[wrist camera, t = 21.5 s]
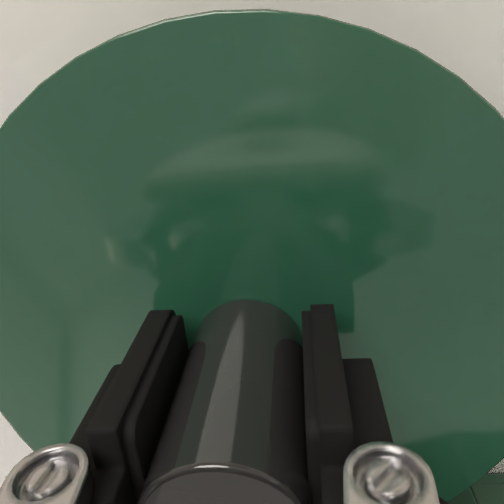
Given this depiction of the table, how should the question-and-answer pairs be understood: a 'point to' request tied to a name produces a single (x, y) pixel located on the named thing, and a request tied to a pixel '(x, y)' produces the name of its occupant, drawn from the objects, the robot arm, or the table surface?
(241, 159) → the pot lid
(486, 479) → the pot
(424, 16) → the table surface
